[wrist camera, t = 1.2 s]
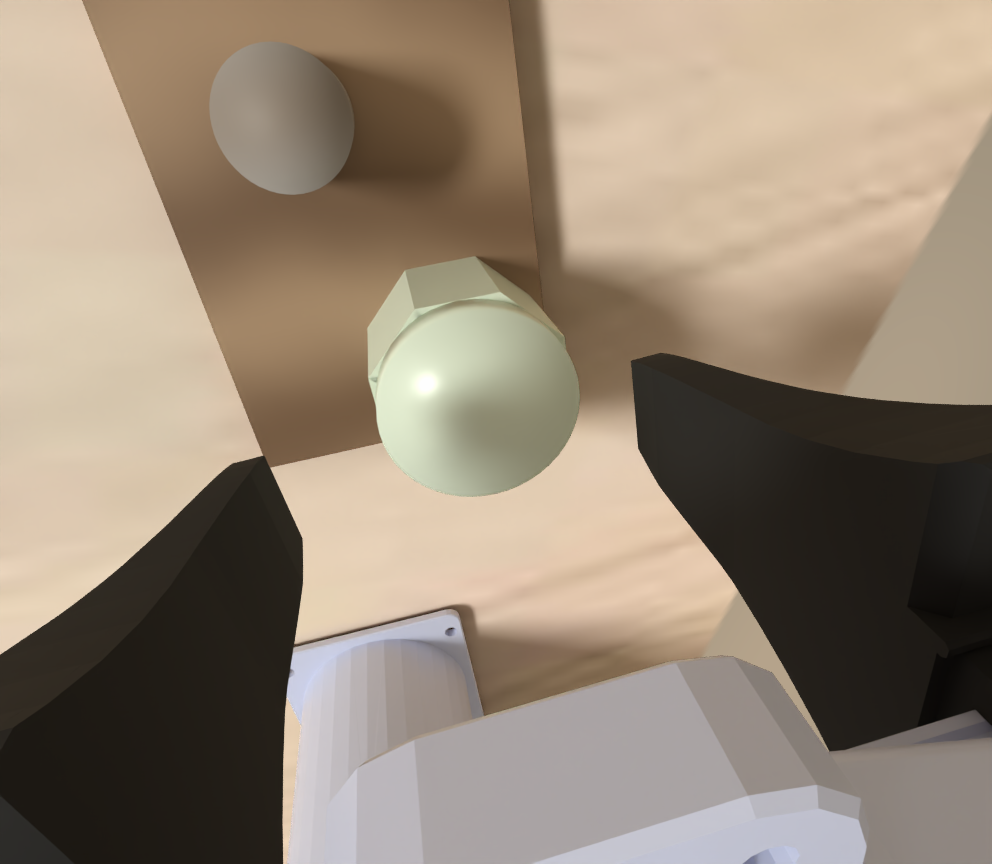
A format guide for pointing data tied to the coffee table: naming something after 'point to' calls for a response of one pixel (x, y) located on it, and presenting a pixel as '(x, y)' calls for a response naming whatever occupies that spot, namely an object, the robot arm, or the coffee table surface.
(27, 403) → the coffee table surface
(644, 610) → the coffee table surface
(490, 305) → the cap
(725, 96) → the coffee table surface
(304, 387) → the post base
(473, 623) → the coffee table surface
